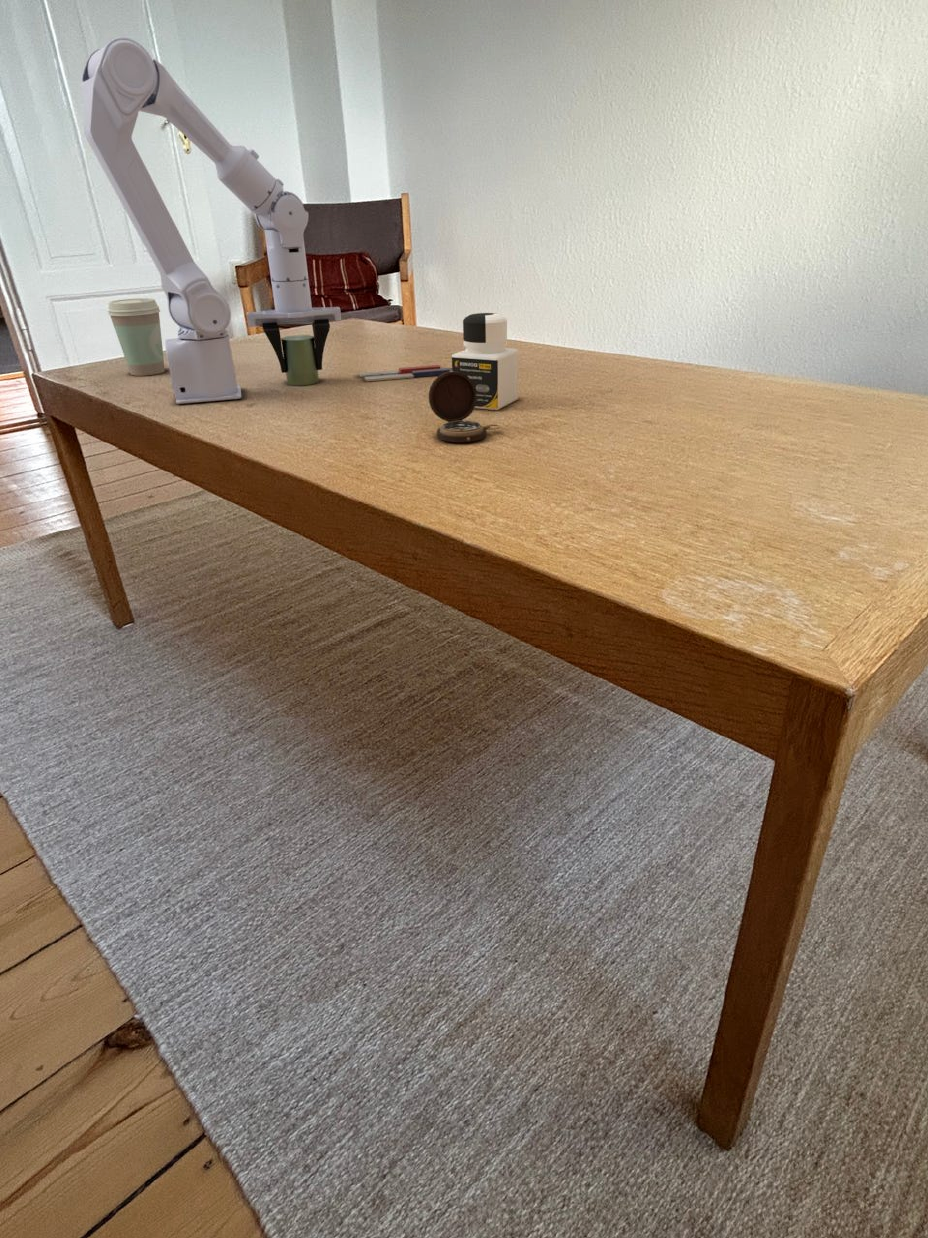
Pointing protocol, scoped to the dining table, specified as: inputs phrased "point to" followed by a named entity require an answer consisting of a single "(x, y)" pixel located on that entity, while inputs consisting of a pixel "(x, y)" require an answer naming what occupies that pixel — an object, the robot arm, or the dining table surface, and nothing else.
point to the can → (300, 360)
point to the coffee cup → (139, 334)
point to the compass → (456, 407)
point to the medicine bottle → (488, 360)
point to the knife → (410, 374)
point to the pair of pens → (401, 370)
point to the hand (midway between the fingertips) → (301, 370)
